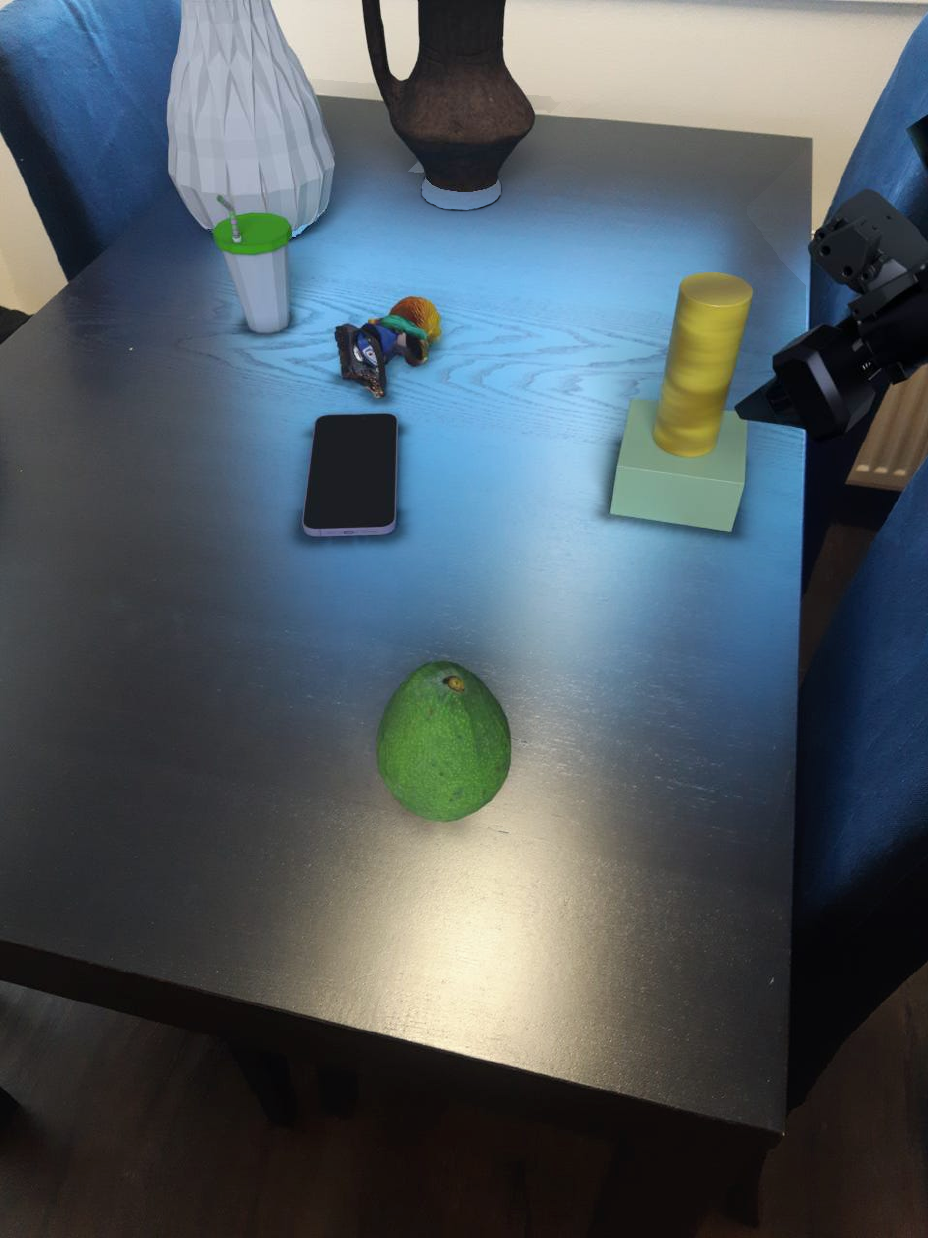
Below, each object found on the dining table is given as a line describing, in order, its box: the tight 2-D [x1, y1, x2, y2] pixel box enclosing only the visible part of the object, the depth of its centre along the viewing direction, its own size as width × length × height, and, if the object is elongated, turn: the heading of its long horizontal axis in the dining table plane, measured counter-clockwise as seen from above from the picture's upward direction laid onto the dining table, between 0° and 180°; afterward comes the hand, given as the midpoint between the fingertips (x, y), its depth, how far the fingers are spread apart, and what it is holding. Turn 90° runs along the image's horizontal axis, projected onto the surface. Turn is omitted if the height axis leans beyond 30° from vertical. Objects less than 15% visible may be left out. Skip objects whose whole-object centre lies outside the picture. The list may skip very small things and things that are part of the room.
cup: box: [211, 195, 292, 335], centre depth 91 cm, size 8×8×15 cm
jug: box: [361, 0, 536, 192], centre depth 109 cm, size 21×18×30 cm
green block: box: [609, 397, 749, 533], centre depth 75 cm, size 10×10×5 cm
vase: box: [166, 0, 336, 232], centre depth 102 cm, size 20×20×30 cm
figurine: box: [333, 295, 443, 399], centre depth 88 cm, size 11×8×6 cm, turn 128°
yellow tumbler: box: [653, 271, 754, 457], centre depth 68 cm, size 5×5×13 cm
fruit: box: [375, 660, 512, 823], centre depth 51 cm, size 8×8×12 cm
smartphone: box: [301, 412, 399, 537], centre depth 77 cm, size 8×1×16 cm
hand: (770, 385), depth 65 cm, fingers open, 9 cm apart
